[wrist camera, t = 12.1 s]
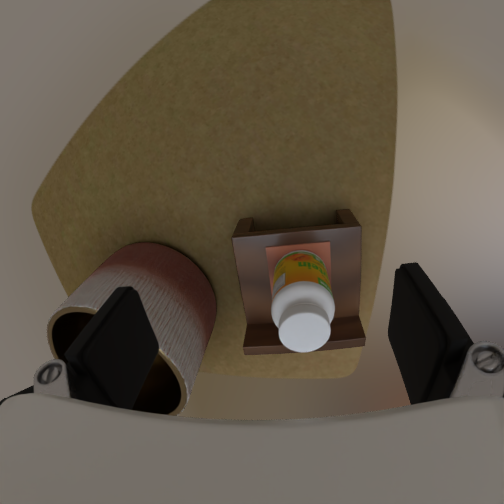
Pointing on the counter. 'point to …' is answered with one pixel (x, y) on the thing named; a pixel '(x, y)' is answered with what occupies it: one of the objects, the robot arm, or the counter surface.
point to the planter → (149, 317)
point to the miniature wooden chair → (262, 274)
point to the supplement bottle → (302, 301)
